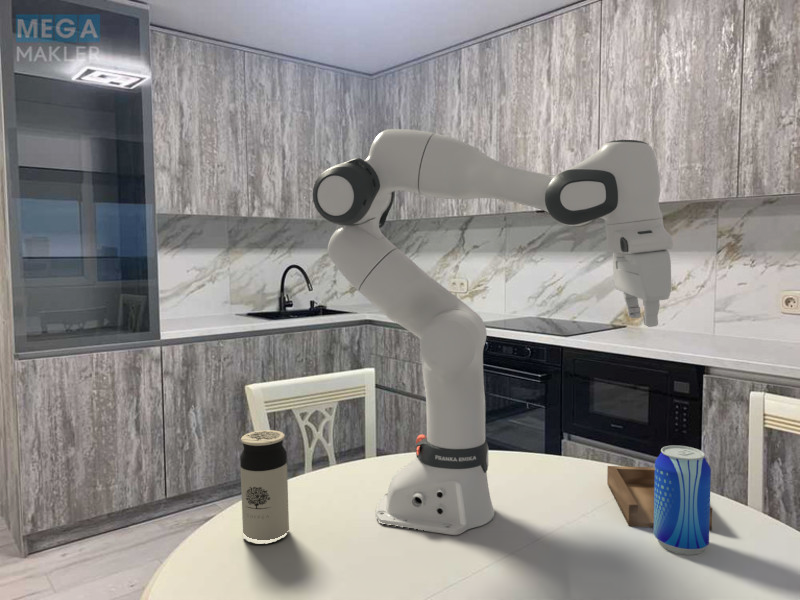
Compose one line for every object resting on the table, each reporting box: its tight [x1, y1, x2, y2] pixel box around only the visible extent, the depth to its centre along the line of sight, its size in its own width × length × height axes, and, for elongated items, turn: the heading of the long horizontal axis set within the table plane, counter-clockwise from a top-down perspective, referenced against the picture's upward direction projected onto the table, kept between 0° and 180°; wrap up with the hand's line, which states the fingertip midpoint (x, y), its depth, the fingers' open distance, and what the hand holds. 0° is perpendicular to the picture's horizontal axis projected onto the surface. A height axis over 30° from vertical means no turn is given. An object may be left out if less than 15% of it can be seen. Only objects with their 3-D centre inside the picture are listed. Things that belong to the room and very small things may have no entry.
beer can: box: [653, 445, 712, 556], centre depth 99 cm, size 8×8×16 cm
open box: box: [606, 465, 713, 531], centre depth 115 cm, size 14×20×4 cm
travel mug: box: [239, 429, 290, 540], centre depth 104 cm, size 8×8×18 cm
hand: (642, 321), depth 99 cm, fingers open, 8 cm apart
